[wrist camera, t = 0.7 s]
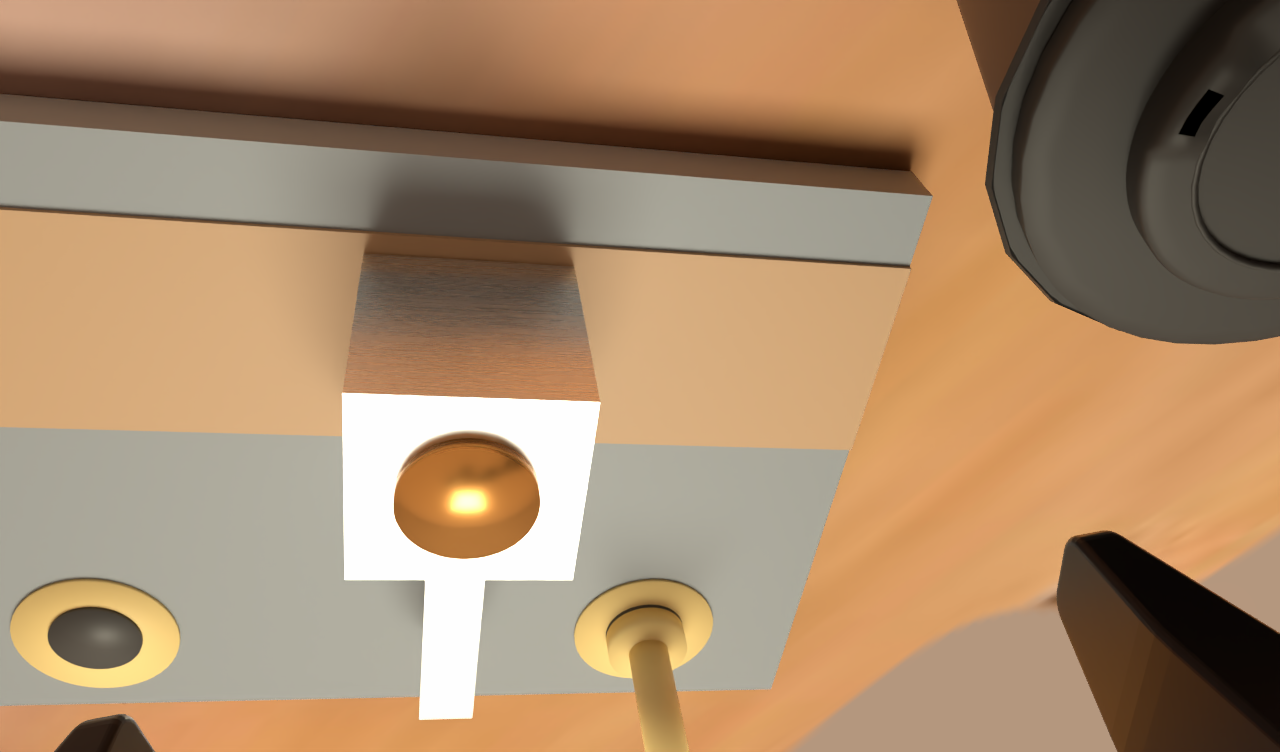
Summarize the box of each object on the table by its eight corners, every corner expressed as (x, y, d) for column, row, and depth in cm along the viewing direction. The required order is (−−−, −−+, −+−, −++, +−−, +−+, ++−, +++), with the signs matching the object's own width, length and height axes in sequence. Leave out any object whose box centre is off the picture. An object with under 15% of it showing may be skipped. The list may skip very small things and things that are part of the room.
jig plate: (911, 171, 22) (1025, 304, 17) (760, 655, 30) (812, 827, 26) (-313, 66, 17) (-571, 209, 13) (-95, 668, 26) (-208, 878, 21)
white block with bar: (574, 266, 20) (602, 413, 17) (526, 646, 26) (538, 819, 23) (363, 253, 20) (340, 405, 16) (363, 648, 26) (346, 828, 22)
